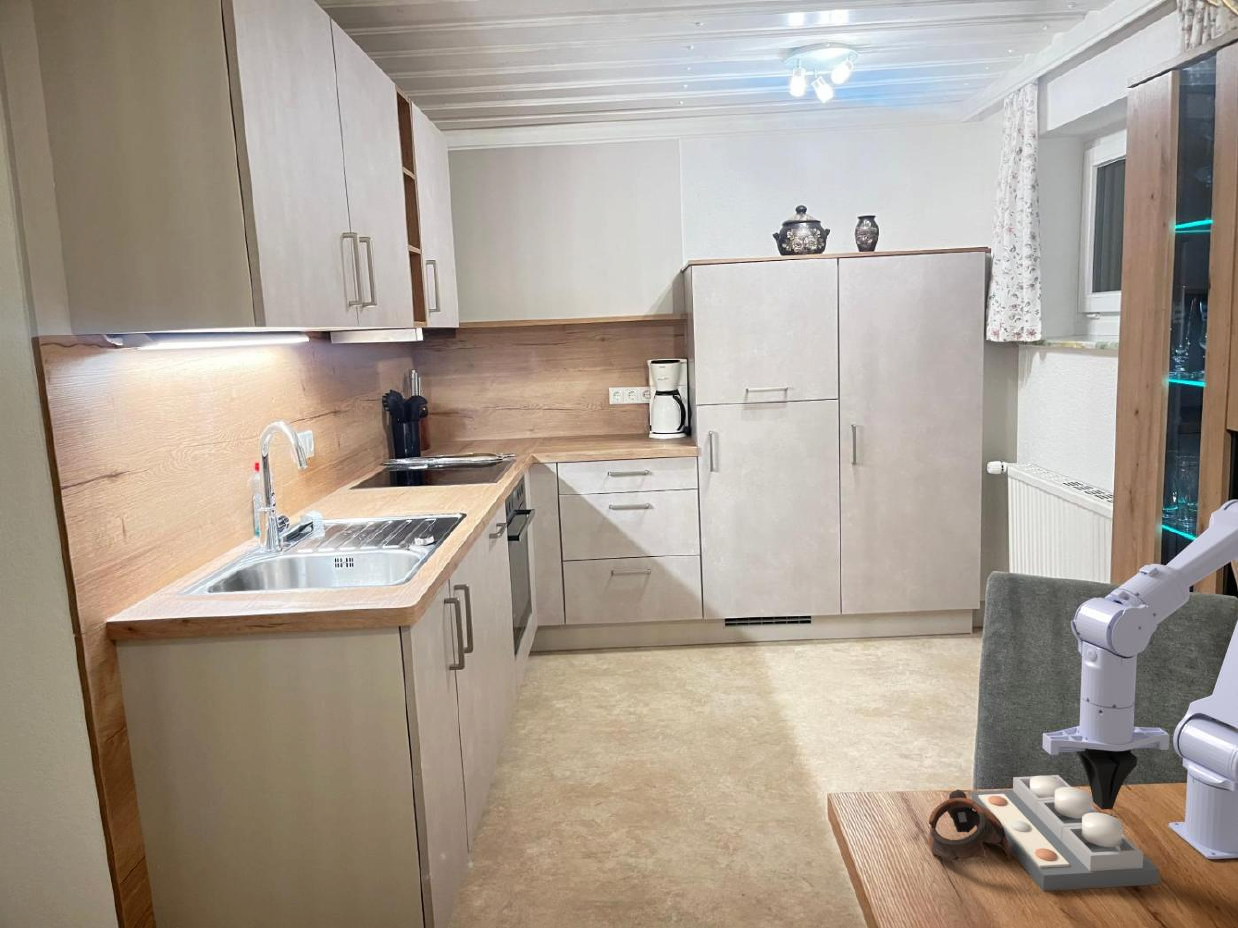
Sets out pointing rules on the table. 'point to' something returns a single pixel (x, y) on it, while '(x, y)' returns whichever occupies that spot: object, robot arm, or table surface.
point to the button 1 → (1045, 786)
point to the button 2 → (1102, 829)
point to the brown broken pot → (966, 829)
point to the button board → (1062, 843)
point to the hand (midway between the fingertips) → (1102, 805)
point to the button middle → (1073, 802)
